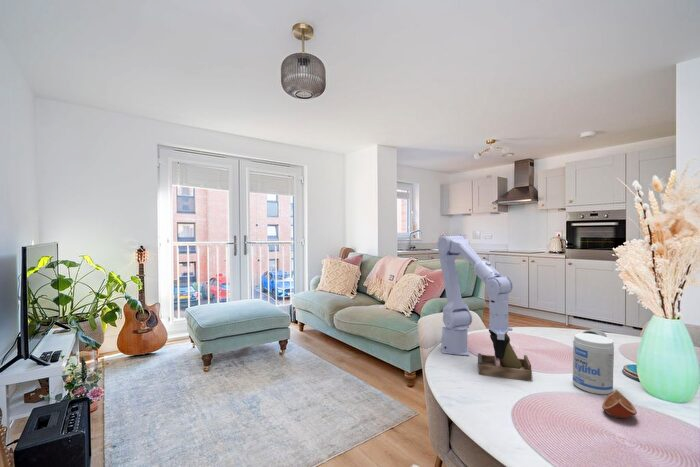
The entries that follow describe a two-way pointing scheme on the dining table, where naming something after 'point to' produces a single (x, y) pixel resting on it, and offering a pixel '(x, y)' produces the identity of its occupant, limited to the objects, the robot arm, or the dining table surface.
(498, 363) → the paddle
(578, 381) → the supplement tub
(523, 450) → the dining table surface
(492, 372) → the open box
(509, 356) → the olive bulbous piece
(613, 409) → the brown wedge piece
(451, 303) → the robot arm
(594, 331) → the ceramic mug
